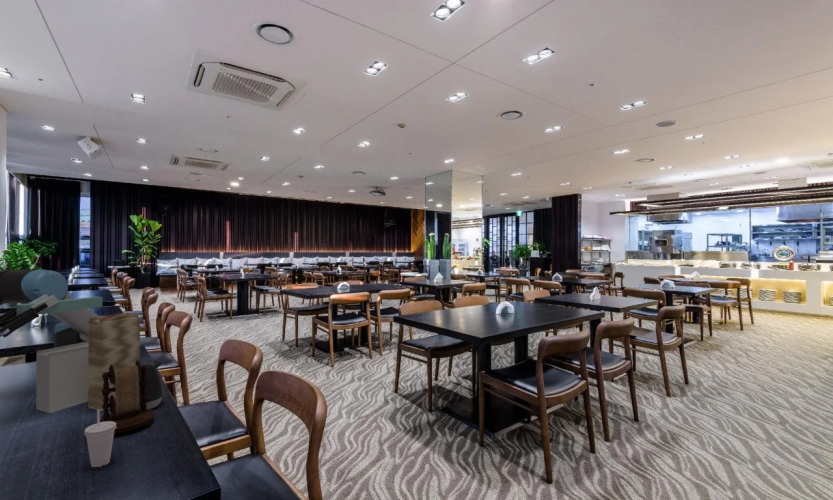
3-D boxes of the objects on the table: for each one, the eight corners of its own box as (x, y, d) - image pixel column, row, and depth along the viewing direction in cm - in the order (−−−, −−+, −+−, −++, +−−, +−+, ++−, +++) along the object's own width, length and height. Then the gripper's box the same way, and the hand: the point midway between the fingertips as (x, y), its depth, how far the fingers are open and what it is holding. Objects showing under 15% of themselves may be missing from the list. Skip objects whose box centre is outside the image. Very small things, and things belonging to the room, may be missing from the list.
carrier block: (49, 413, 129) (49, 354, 128) (36, 409, 132) (36, 351, 132) (103, 396, 143) (104, 343, 143) (90, 393, 146) (91, 340, 146)
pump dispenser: (171, 404, 137) (171, 361, 137) (141, 416, 127) (142, 370, 127) (150, 400, 141) (150, 358, 141) (120, 411, 131) (120, 366, 131)
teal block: (22, 316, 121) (22, 305, 121) (16, 315, 122) (16, 304, 122) (102, 306, 141) (102, 297, 141) (96, 306, 142) (96, 296, 142)
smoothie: (96, 457, 102) (96, 404, 102) (122, 456, 103) (122, 404, 103) (77, 471, 96) (77, 415, 96) (104, 470, 97) (105, 414, 96)
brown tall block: (102, 411, 131) (102, 319, 130) (88, 407, 134) (88, 317, 133) (139, 398, 142) (140, 314, 141) (125, 395, 145) (126, 312, 145)
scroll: (100, 444, 109) (100, 373, 109) (89, 427, 119) (89, 362, 119) (160, 426, 121) (160, 362, 121) (146, 412, 130) (146, 353, 130)
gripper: (-33, 340, 105) (59, 290, 124) (-61, 334, 111) (31, 287, 130) (-13, 360, 109) (73, 308, 127) (-42, 354, 115) (45, 305, 134)
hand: (52, 298), depth 129 cm, fingers closed on teal block, 3 cm apart
